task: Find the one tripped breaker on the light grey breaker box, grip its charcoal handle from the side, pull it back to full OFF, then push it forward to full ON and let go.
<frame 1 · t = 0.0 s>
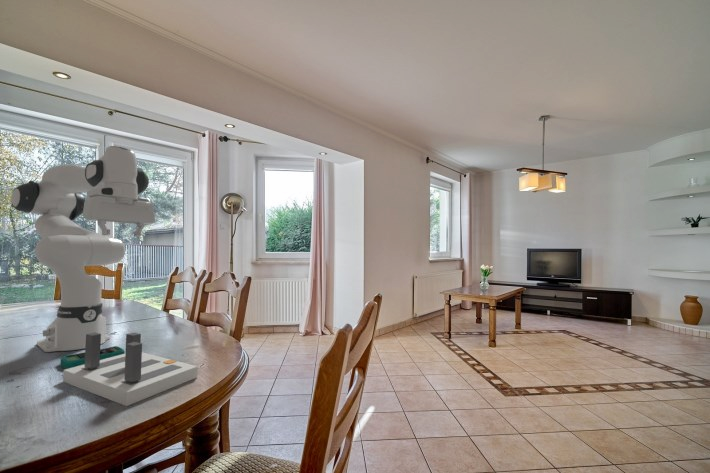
hand: (122, 235, 106), 39 cm above the table, tool pointing down, fingers open, 8 cm apart
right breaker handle: (133, 361, 78), point 8 cm above the table, slide at 5.0 cm
digital multimeter: (93, 362, 99), on the table
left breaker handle: (92, 350, 85), point 8 cm above the table, slide at 5.0 cm
tripped breaker handle: (132, 350, 86), point 8 cm above the table, slide at 0.0 cm
breaker box: (131, 379, 86), on the table
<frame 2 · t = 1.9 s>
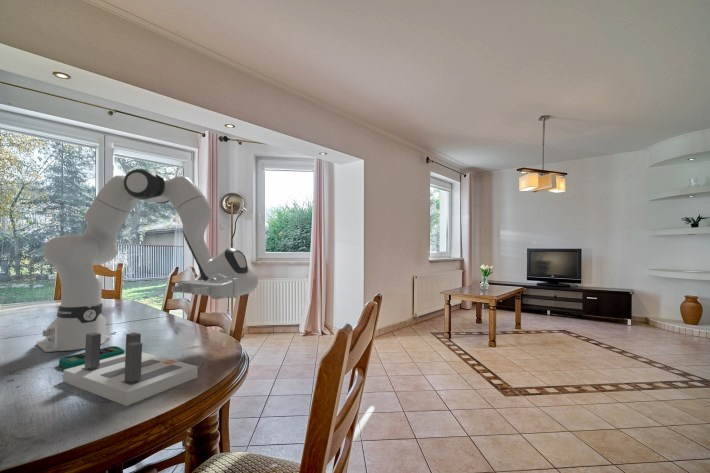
hand: (183, 290, 99), 22 cm above the table, tool horizontal, fingers open, 8 cm apart
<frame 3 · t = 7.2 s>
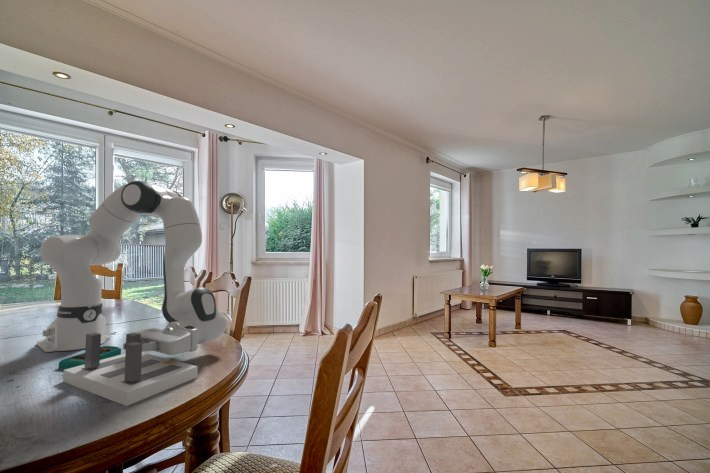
hand: (129, 348, 85), 9 cm above the table, tool horizontal, fingers closed on tripped breaker handle, 3 cm apart
tripped breaker handle: (132, 350, 86), point 8 cm above the table, slide at 0.0 cm, touching gripper
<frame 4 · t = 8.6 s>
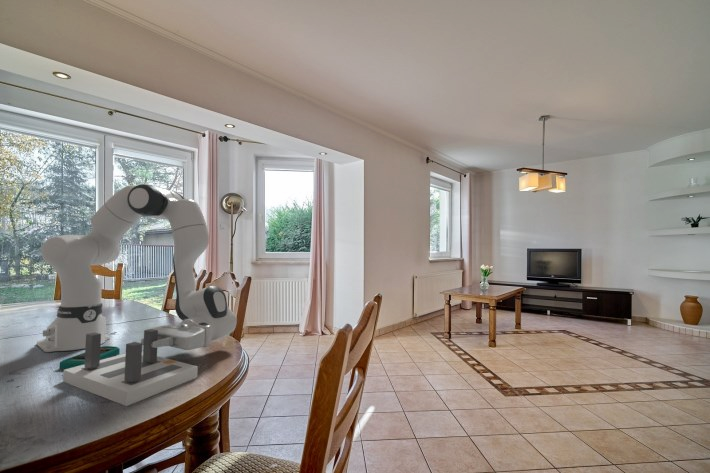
hand: (147, 343, 89), 9 cm above the table, tool horizontal, fingers closed on tripped breaker handle, 3 cm apart
tripped breaker handle: (150, 345, 90), point 8 cm above the table, slide at -4.7 cm, touching gripper
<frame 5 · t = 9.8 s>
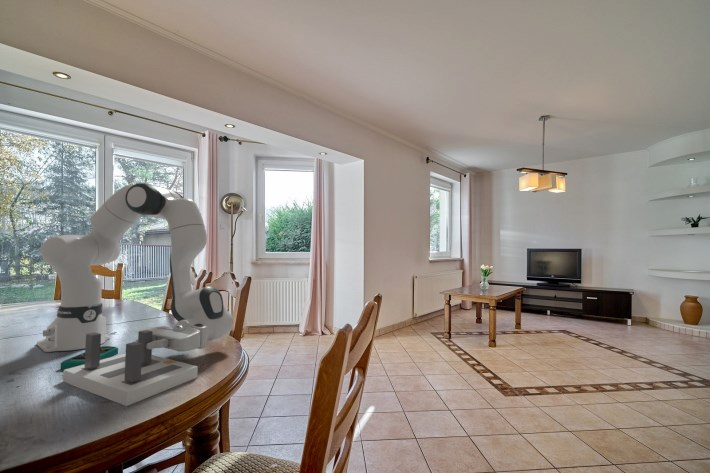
hand: (141, 345, 88), 9 cm above the table, tool horizontal, fingers closed on tripped breaker handle, 3 cm apart
tripped breaker handle: (144, 347, 89), point 8 cm above the table, slide at -3.1 cm, touching gripper
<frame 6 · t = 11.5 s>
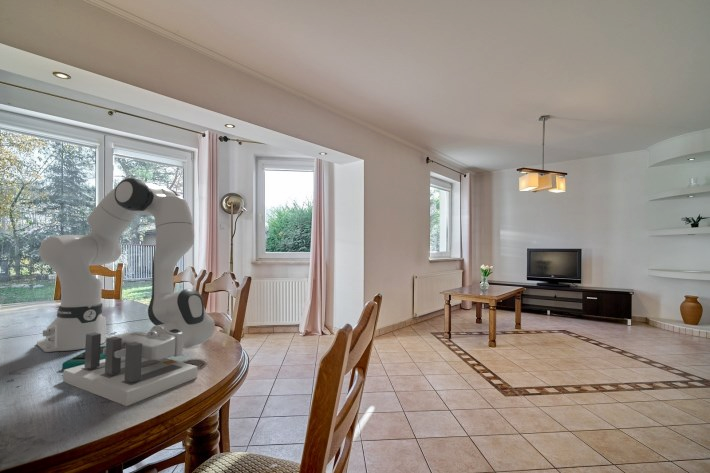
hand: (109, 353, 81), 9 cm above the table, tool horizontal, fingers closed on tripped breaker handle, 3 cm apart
tripped breaker handle: (113, 355, 82), point 8 cm above the table, slide at 4.7 cm, touching gripper
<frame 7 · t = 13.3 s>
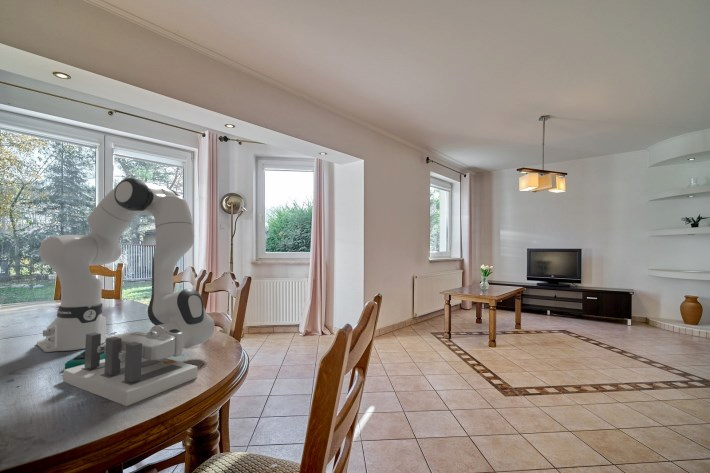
hand: (109, 353, 81), 9 cm above the table, tool horizontal, fingers open, 8 cm apart
tripped breaker handle: (113, 355, 82), point 8 cm above the table, slide at 4.8 cm
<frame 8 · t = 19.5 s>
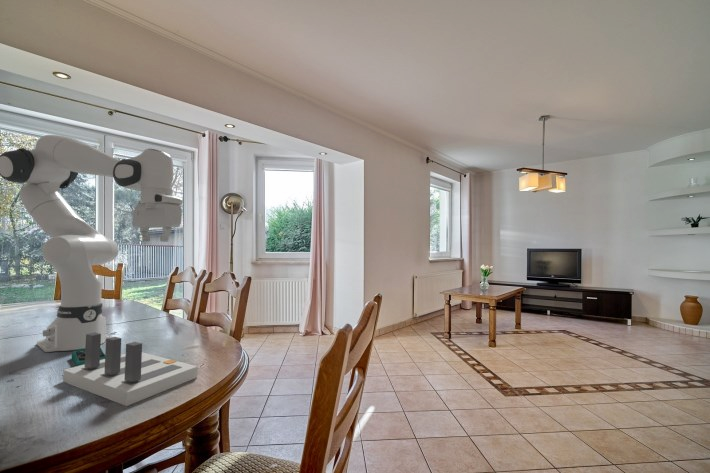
hand: (154, 241, 104), 37 cm above the table, tool pointing down, fingers open, 8 cm apart
at the end: tripped breaker handle slide at 4.8 cm; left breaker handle slide at 5.0 cm; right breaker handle slide at 5.0 cm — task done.
